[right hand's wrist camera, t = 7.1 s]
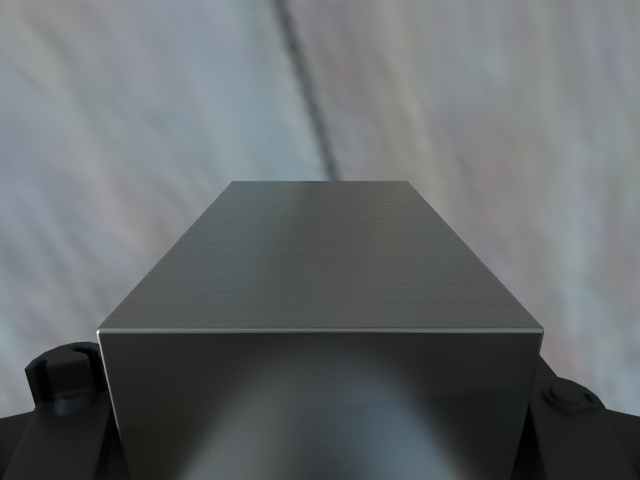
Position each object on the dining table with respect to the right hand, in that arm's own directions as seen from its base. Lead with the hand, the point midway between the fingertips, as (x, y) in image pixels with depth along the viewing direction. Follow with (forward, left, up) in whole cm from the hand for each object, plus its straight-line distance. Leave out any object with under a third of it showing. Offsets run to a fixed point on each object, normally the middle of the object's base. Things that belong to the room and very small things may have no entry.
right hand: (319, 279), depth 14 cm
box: (+6, +6, -1) cm, 8 cm away
